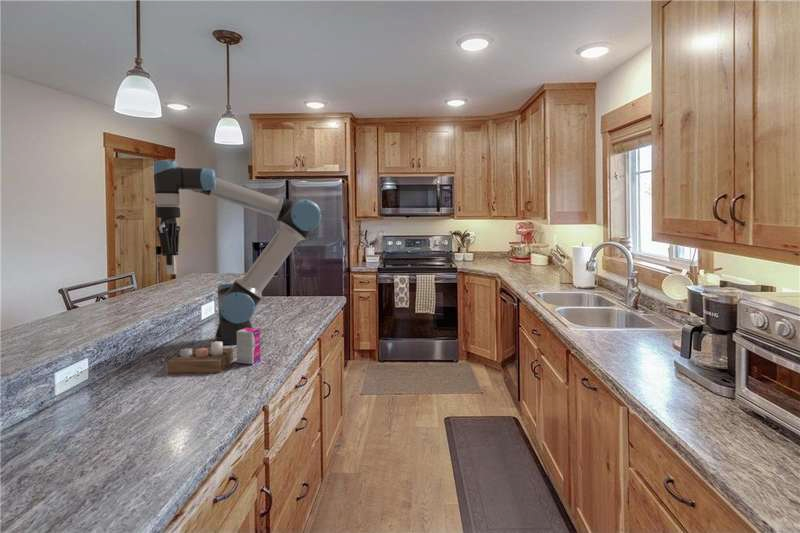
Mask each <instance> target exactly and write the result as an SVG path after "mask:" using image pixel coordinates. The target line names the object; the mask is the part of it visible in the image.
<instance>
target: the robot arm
mask: <svg viewBox="0 0 800 533" xmlns="http://www.w3.org/2000/svg"><path fill="white" fill-rule="evenodd" d="M153 182H154V183H153V184H154V198H153V199H154V201H155V206H156V207H155V217H156V218H158V219H160V226H157V227H156V230H157V232H158V236H159V237H158V238H159V242H160V250H161V254H162V256H163V257H165V267H166V268H165V269H166V275H176V274H177V261H176V258H177V257H176V256H179V248H180V247H179V243H180V231H181V226H179V225H178V224H177V223H178V222H177V219H180V218H181V208H180V207H179V206H180V204H181V201H180V198H181V197H180V190H188V191H189V190H190V191H192V192H195V193H199V194H203V195H205V196H209V197H212V198H215V199H218V200H222V201H224V202H227V203H230V204H234V205H236V206H239V207H241V208H245V209H248V210H252V211H253V212H254V211H255V212H257V213H261V214H264V215H267V216H269V217H272V218H273V219H274V221H276V222H279V229H278V230H277V232H276V233H275V234H274V236H273V237H272V238H271V239H270V240H269V242H268V244H267V245H266V246H265V248H264V249H263V250H262V252H261V253H260V255H259V256H258V257H257V258H256V260H254V262H253V264H252V265H251V266H250V268H249V269H248V270H247V271H246V273H245V274H244V276H243V277H242V278H240V279H239V278H238V279H235V280H234V282H233V283H223V284H222V283H221V284H219V285H217V303H218V324H217V328H216V332H215V335H214V339H215V340H214V342H216V341H221V342H223V345H237V331H239V330H241V329H243V328H254V326H253V325H252V322H251V318H252V316H254V313H255V310H256V308H257V307H256V306H257V305H258V304H259V303H260V301H261V300H262V298H263V294H262V292H263V291H264V289H265V288H266V286H267V285H268V284H269V282H270V281H271V280H272V278H273V277H274V275H275V274H276V273H277V271H278V270H279V269H280V268H281V266H282V265H283V263H284V262H285V261H286V259H287V258H288V256H289V255H290V254H291V253H292V251H293V250H294V248H295V247H296V245H297V244H298V243H299V242H300V241H304V240H307V239H306V238H308V236H309V235H310V234H311V232H312V231H314V230H315V229H316V228H318V226H319V225H320V224H321V222H322V217H323V216H322V211H321V208H320V207H319V205H318V204H317V203H316V202H314V201H312V200H309V199H306V198H304V199H299V200H294V199H293V200H292V199H287V198H284V197H280V198H277V197H273V196H272V195H271V196H270V195H268V194H265V193H262V192H259V191H257V190H253V189H250V188H248V187H244V186H241V185H238V184H236V183H233V182H230V181H228V180H225V179H223V178H222V179H221V178H219V177H216V171H215V169H213V168H205V167H203V168H202V167H199V168H198V167H195V168H194V167H181V166H179V165H178V162H177V161H176V160H175V161H174V160H163V159H161V160H156V161H155V162H153Z"/></svg>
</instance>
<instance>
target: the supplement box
mask: <svg viewBox="0 0 800 533" xmlns="http://www.w3.org/2000/svg"><path fill="white" fill-rule="evenodd" d="M260 361H261V328H258V327H253V328H243V329H241V330H239V331H237V344H236V363H237V365H239V366H241V365H242V366H253V365H254V364H256V363H258V362H260Z"/></svg>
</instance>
